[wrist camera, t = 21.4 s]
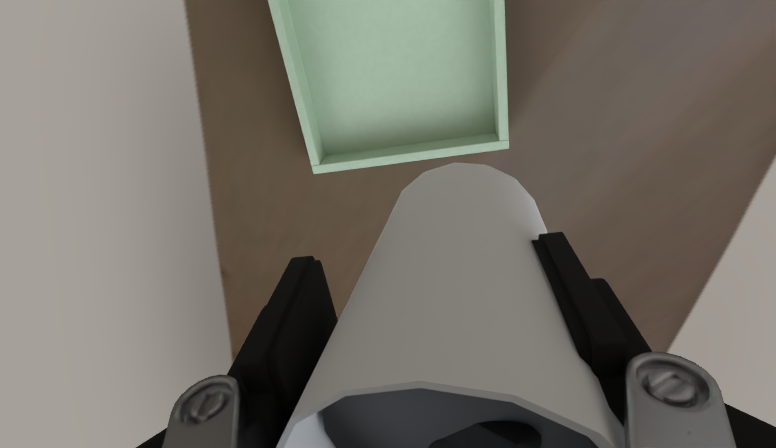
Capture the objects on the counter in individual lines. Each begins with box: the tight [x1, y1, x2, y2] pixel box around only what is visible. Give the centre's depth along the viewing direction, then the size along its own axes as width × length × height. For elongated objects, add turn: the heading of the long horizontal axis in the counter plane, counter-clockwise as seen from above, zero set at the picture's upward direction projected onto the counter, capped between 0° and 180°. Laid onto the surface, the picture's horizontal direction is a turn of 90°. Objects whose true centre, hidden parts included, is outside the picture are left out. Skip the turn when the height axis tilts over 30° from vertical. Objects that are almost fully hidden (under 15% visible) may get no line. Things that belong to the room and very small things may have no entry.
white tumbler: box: [276, 163, 625, 448], centre depth 12 cm, size 7×7×10 cm
